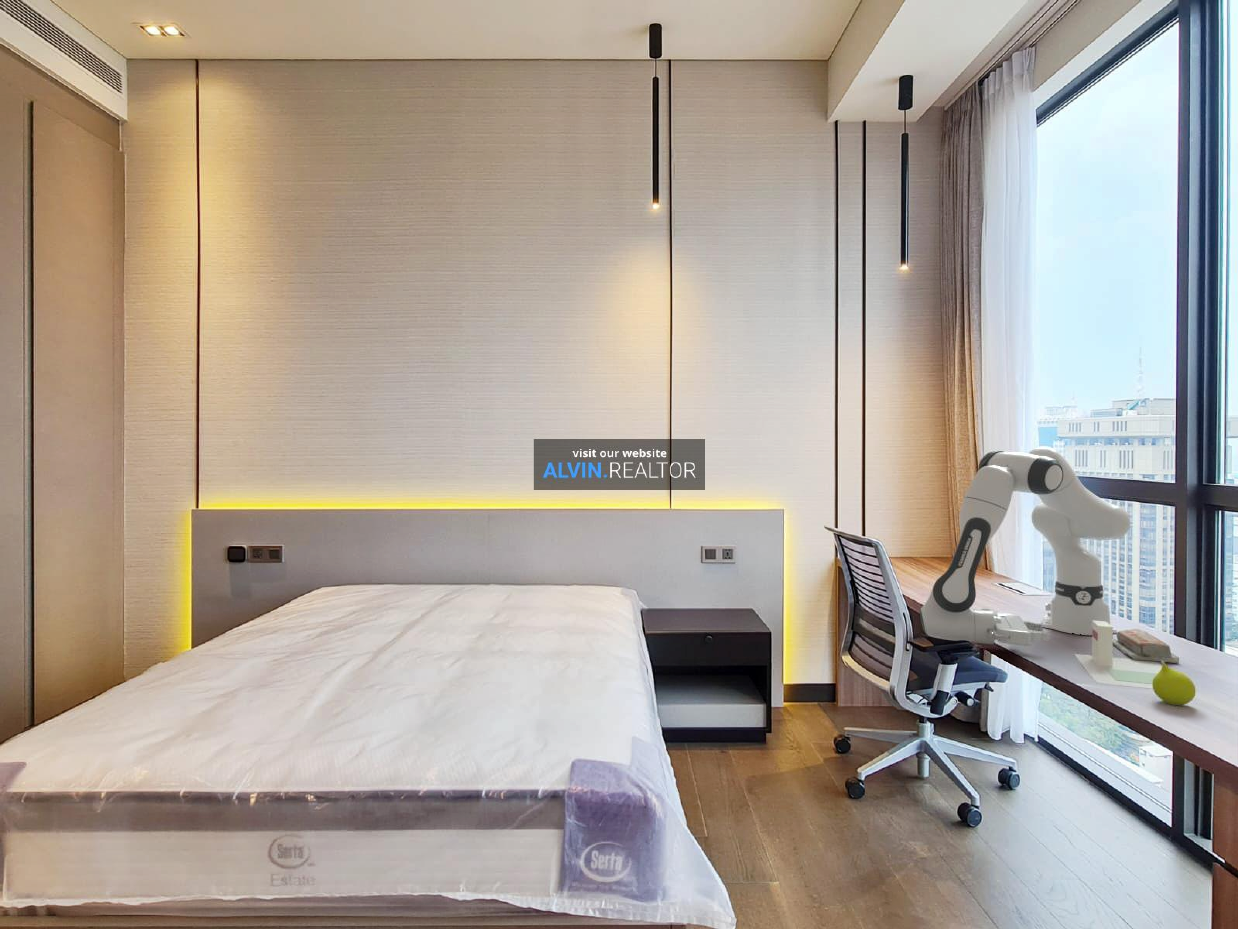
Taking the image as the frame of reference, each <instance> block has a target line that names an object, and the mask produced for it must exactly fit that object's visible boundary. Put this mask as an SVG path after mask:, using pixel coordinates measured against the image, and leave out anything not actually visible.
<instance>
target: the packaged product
mask: <svg viewBox="0 0 1238 929" xmlns="http://www.w3.org/2000/svg"><path fill="white" fill-rule="evenodd" d="M1115 636H1116V638H1113V646H1115V647H1116V648H1117V649H1118V650H1120V651H1121V653H1123V654H1125V655H1127V656H1129V657H1131V658H1132V659H1134V660H1145V661H1156V662H1159V663H1161V661H1164V662H1165V663H1174V664H1179V663H1180V657H1179V656H1177V655H1175V654H1174V653H1172V652H1171V648H1170V645H1169V644H1167V643H1165V642H1163V641H1162V640H1160V639H1159V638H1157V637H1156V636H1154V635H1153V634H1150V633H1148V632H1147V631H1144V630H1142V629H1137V628H1136V629H1133V628H1132V629H1125V630H1120V631H1117V633H1116V634H1115Z"/></svg>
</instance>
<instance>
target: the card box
mask: <svg viewBox="0 0 1238 929" xmlns="http://www.w3.org/2000/svg"><path fill="white" fill-rule="evenodd" d="M1113 628H1114V627H1113V625H1111V623H1110V624H1109V623H1107V622H1106V621H1094V620H1092V635H1091V638H1092V639H1091V642H1092V643H1091V646H1092V647H1091V649H1092V650H1091V654H1092V655H1091V656H1092V659H1093V660H1094V661H1095V662H1096V663H1097V665H1099V666H1109V667H1113V658H1114V656H1113V651H1114V650H1113V649H1114V648H1113V646H1114V645H1113V640H1114V637H1113V636H1114V635H1113V634H1114V633H1113Z"/></svg>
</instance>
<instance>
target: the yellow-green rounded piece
mask: <svg viewBox="0 0 1238 929" xmlns="http://www.w3.org/2000/svg"><path fill="white" fill-rule="evenodd" d="M1160 664H1161V665H1162V669H1161V670H1160V672H1159V673H1158V674H1157V675H1156V676H1155V677H1154V679H1153V683H1152V685H1153V689H1152V690H1153V691H1154V693H1155V695H1156V697H1158V698H1159V699H1160V700H1161V701H1163V702H1165V703H1167V704H1170V705H1174V706H1183V705H1186V704H1187V705H1188V704H1189V703H1190V702H1191V701H1193V699H1194V698H1195V697H1196V693H1197V692H1196V687H1195V686H1196V685H1195V684H1194V682H1193V681H1192V679H1191V678H1190V677H1189V676H1188V675H1186V674H1184V673H1183V672H1181V671H1178V670H1175V669H1173V668H1170V667H1169V666H1167V664H1166V662H1164V661H1161V662H1160Z"/></svg>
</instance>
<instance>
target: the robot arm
mask: <svg viewBox="0 0 1238 929" xmlns="http://www.w3.org/2000/svg"><path fill="white" fill-rule="evenodd" d="M977 466H978V467H977V472H976V474H975V475H974V477H973V479H972V480H971V482H970V484H969V486H968V487H967V490H966V491H965V492H966V493H965V495H964V497H963V500H962V503H961V506H960V510H959V515H958V525H959V540H958V544H957V546H956V548H955V551H954V554H953V556H952V560H951V561H950V565H949V567H948V569H947V570H946V571H945V572H944V573H943V574H942V575H941V576H940V577H938V578H937V579H936V580H935V582H934V584H933V586H932V589H931V592H930V594H929V596H928V598H927V600H926V602H925V603H924V605H923V606H922V607H921V608H920V609H919V616H920V621H921V626H922V629H923V632H924V633H925V634H926V635H927V636H929V637H931V638H935V639H940V640H948V641H967V642H968V641H969V642H970V643H975V644H976V643H978V644H989V645H994V644H995V640H996V641H997V642H999V643H1002V644H1008V645H1016V646H1022V647H1023V646H1024V647H1027V646H1032V641H1033V642H1035V641H1050V639H1051V634H1050V633H1049V632H1048V631H1044V628H1046V629H1051V630H1056V631H1059V632H1063V633H1068V634H1072V633H1074V635H1080V634H1081V635H1083V636H1092V620H1094V621H1106V622H1107V623H1109V624H1110V625H1111V615H1110V614H1111V613H1110V605H1109V604H1108V603H1107V602H1106V601H1105V600H1104V599H1103V597H1104V592H1105V590H1104V586H1103V585H1102V561H1101V560H1100V558H1099V557H1098V555H1097V554H1095V553H1093V551H1091V550H1088V549H1087V548H1086V547H1085V546H1084V544H1083V542H1082V539H1085V540H1095V541H1096V540H1097V541H1109V540H1110V541H1111V540H1119V539H1122V538H1123V537H1124V536H1126V535H1127V533H1128V532H1129V530H1130V527H1131V519H1130V516H1129V514H1128V512H1127V511H1126V509H1124V507H1121V506H1120V505H1116V504H1113V503H1111V502H1108V501H1106V500H1105V499H1103V498H1101V497H1099V496H1097V495H1096V494H1094V493H1093V492H1092V491H1091V490H1089V489H1088V488H1086V487H1085V486H1084V485H1083V483H1082V481H1081V480H1080V479H1079V477H1078V476H1077V475H1076V473H1075V472H1074V470H1073V468H1072V466H1071V465H1070V464H1069V463H1068V461H1067V460H1066V459H1065V458H1064V456H1063V455H1062V454H1060V452H1059V451H1057V450H1056V449H1055V448H1052V447H1049V446H1039V447H1035V448H1033V449H1031V450H1030V451H1029V452H1027V453H1026V452H1015V451H1003V450H996V451H995V450H994V451H989V452H987V453H986V454H985V455H984V456H983V457H982V458H981V459H980V461H979V462H978V465H977ZM1013 492H1020V493H1029V494H1030V493H1031V494H1035V495H1037V496H1038V497H1039V499H1040V500H1041V502H1040V503H1038V504H1037V505H1036V506H1035V507H1034V508H1033V510H1032V513H1031V523H1032V525H1033V527H1034V529H1035V530H1036V531H1038V532H1039V533H1040V534H1042V536H1043V537H1044V538H1046V540H1047V541H1048V542H1049V544H1050V546H1051V548H1052V549H1053V552H1054V553H1053V554H1054V556H1055V557H1054V558H1055V564H1056V581H1055V585H1054V593H1055V595H1054V596H1053V598H1052V600H1050V602H1047V603H1045V611H1047V614H1045V615H1044V616H1043V620H1042V623H1037V622H1031V621H1028V620H1023V619H1022V618H1021V617H1020V615H1018V614H1017V615H1016V614H1012V613H1006V612H1000V611H993V610H990V609H987V608H981V609H976V608H975V609H973V608H971V607H972V606H973V604H974V603H975V600H976V598H977V592H976V591H977V590H976V584H975V578H976V574H977V571H978V568H979V567H980V566H979V565H980V563H981V559H982V557H983V554H984V551H985V549H986V547H987V545H988V544H989V542H990V541H991V540H992V538H993V537H994V536H995V535H996V533H997V532H998V530H999V528H1000V527H1001V526H1002V523H1003V522H1004V519H1005V517H1006V515H1007V513H1008V510H1009V506H1010V504H1011V501H1012V497H1013ZM1117 632H1118V629H1116V628H1115V627H1113V634H1117Z"/></svg>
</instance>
